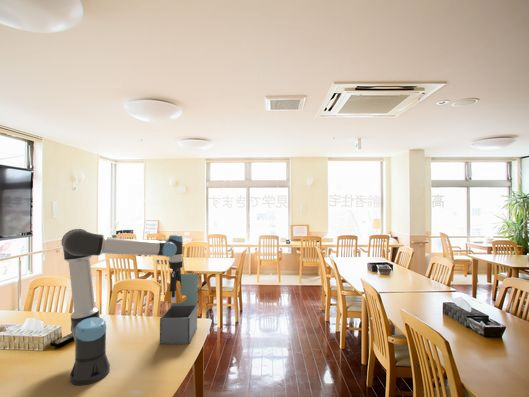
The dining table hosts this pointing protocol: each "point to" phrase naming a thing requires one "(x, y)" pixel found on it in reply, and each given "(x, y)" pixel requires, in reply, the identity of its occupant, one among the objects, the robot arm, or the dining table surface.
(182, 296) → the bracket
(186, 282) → the lid
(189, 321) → the box
